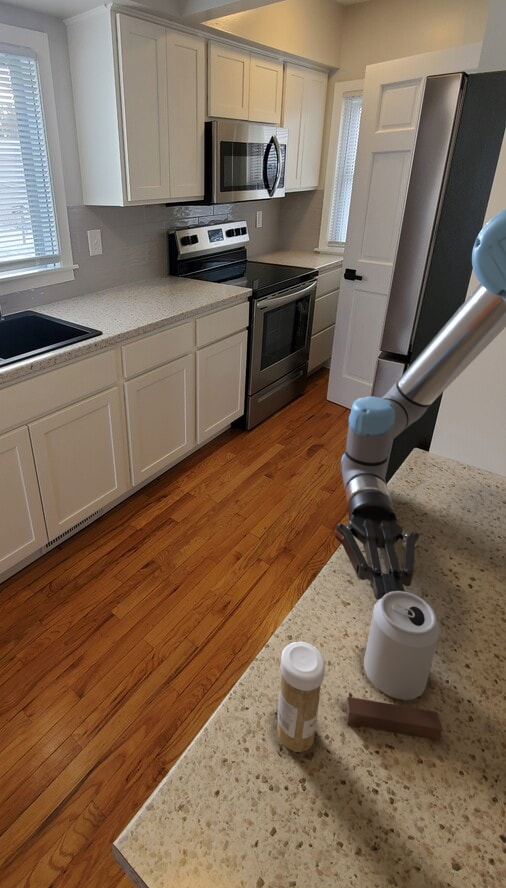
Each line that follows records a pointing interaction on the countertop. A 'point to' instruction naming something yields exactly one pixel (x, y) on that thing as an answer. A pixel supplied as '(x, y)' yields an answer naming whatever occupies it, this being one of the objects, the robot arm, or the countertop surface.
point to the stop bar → (393, 718)
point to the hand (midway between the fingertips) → (394, 617)
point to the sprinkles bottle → (299, 695)
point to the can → (401, 645)
